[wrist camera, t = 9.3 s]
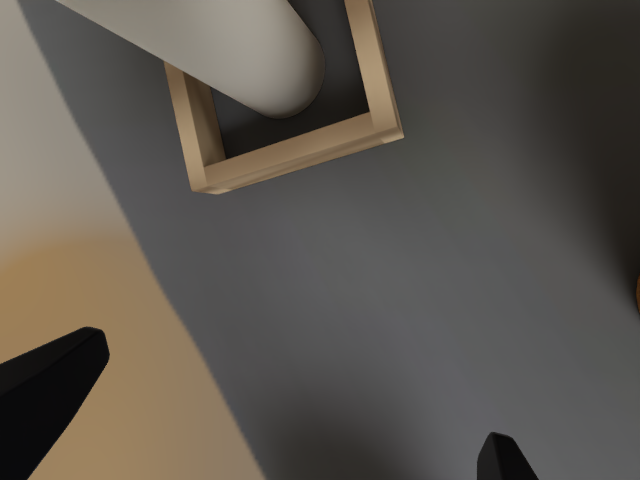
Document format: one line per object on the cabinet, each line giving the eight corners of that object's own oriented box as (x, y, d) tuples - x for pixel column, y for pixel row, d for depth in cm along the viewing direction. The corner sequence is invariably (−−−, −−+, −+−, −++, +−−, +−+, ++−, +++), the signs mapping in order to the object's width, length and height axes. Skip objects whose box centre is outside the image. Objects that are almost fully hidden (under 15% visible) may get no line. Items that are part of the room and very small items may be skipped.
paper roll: (280, 137, 22) (53, 28, 10) (225, 78, 23) (-46, -91, 11) (344, 65, 21) (176, -167, 8) (283, 5, 22) (51, -283, 9)
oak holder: (404, 137, 20) (397, 126, 18) (218, 194, 24) (191, 191, 21) (354, -73, 20) (341, -111, 18) (178, 14, 24) (148, -9, 22)
